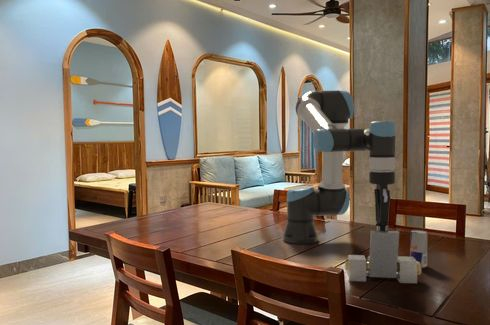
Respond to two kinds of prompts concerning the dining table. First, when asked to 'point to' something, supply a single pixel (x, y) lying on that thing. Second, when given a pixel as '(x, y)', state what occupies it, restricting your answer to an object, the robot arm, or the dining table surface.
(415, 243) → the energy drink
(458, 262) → the dining table surface
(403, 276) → the hinge knuckle blocks
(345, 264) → the pin
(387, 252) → the leaf loose
